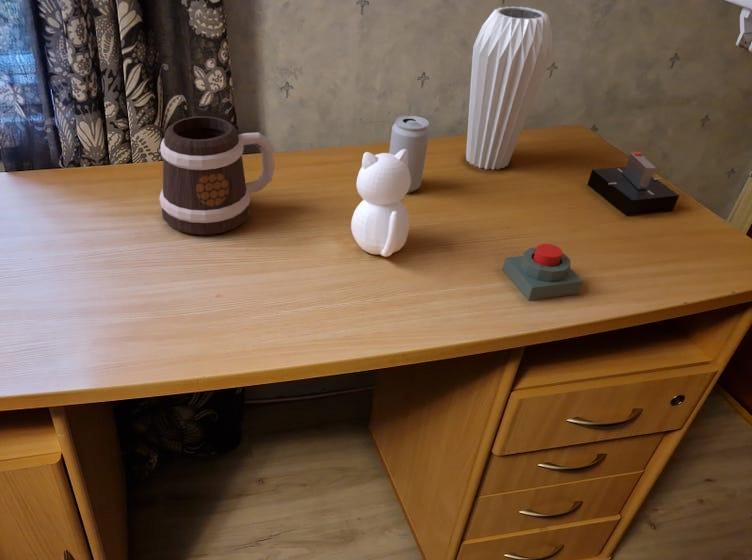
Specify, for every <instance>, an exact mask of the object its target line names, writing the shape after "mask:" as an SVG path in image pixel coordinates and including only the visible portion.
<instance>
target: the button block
mask: <svg viewBox="0 0 752 560" xmlns="http://www.w3.org/2000/svg"><path fill="white" fill-rule="evenodd" d="M536 248H537V246H533V247H529V248H527V249H526V250H525V251H523V252H522V255H517V256H507V257H505V258H504V262H503V266H502V269H501V270H502V272H503V273H504V274H505V275H506V276H507V277H508V279H509V280H510V281H511V282H512V283H513V284H514V285H515V287H516V289H518V290H519V292H520V293H521V294H522V295H523V296H524V298H526V299H527V301H534V300H541V299H548V298H557V297H565V296H572V295H579V293H580V292H581V288H582V286H583V283H584V280H583V279H581V277H580V276H579V275H577V273H576V272H575V271H574V270H572V269H571V268H572V267H571V264H572V263H571V258H569V257H568V255H567V254H565V253H564V252H563V254H562V257H561V260H560V263H559V265H558V266H554V267H548V266H542V265H540V264H538V263H536V262H535V261H534V259H533V258H534V254H535V251H536Z"/></svg>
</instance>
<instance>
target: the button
mask: <svg viewBox="0 0 752 560" xmlns="http://www.w3.org/2000/svg"><path fill="white" fill-rule="evenodd" d="M536 247H537V248H536V251H535V254H534V258H533V259H534V261H535V262H536V263H538V264H540V265H542V266H548V267H554V266H558V265H559V263H560V260H561V257H562V254H563V253H564V251H563V250H562V249H561V248H560V247H559V246H558V245H555V244H551V243H541V244H538V245H537V246H536Z"/></svg>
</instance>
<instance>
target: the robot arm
mask: <svg viewBox="0 0 752 560" xmlns="http://www.w3.org/2000/svg"><path fill="white" fill-rule="evenodd" d="M724 2H728V3H729V4H734V5H736V6H739V7H742V9H741V12H740V14H739V32H740V33H739V35H738V37H737V40H736V42H735V46H736V47H739V48H741V49H744V50H746V51H748V52H750V53H752V0H724Z"/></svg>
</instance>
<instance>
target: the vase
mask: <svg viewBox="0 0 752 560" xmlns="http://www.w3.org/2000/svg"><path fill="white" fill-rule="evenodd" d="M552 55H553V29H552V25H551V20H550V17H549V14H548V13H547V12H544V11H543V10H539V9H537V8H531V7H524V6H504V7H498V8H495V9H494V10H493V11H492V12H491V13H490V15H489V16H488V17H487V19H486V20H485V22H484V23H483V24H482V25H481V27H480V30H479V32H478V34H477V36H476V38H475V41H474V44H473V46H472V57H471V62H472V63H471V73H470V89H469V103H468V119H467V136H466V149H465V150H466V151H465V152H466V153H465V154H466V155H465V159H466V162H469V165H473V167H478V168H479V169H484V170H489V169H490V170H492V171H494V170H495V169H496V170H500V169H505V167H508V165H509V164H510V161H511V158H512V156H513V153H514V151H515V149H516V146H517V144H518V142H519V139H520V136H521V133H522V131H523V129H524V126H525V124H526V121H527V119H528V116H529V113H530V111H531V108H532V106H533V104H534V101H535V98H536V95H537V92H538V91H539V89H540V86H541V83H542V80H543V78H544V75H545V73H546V71H547V68H548V66H549V62H550V60H551V58H552Z"/></svg>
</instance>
